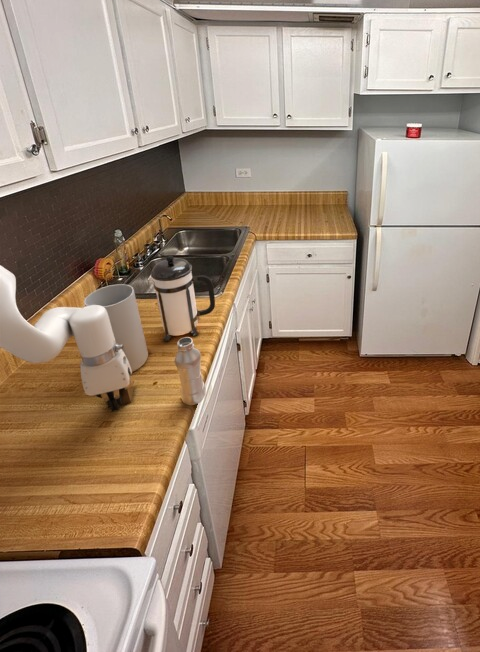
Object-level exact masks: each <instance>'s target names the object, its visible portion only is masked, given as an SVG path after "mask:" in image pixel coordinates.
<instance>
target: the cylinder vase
mask: <svg viewBox="0 0 480 652" xmlns="http://www.w3.org/2000/svg"><path fill="white" fill-rule="evenodd" d="M134 289H135V288H134V286H132V285H130V284H124V283H119V284H117V283H116V284H111V285H106V286H103V287H100V288H98V289H96V290H94V291H92V292H90V293H89V294H87V296H85V298H84V300H83V303H84V307H86V306H90V305H100V306H103V307H104V308H105V309H106V310H107V313H108V316H109V320H110V323H111V327H112V331H113V334H114V338H115V341H117V343H118V344H123V349H122V350H123V352H124V353H125V355H126V357H127V359H128V362H129V364H130V367H131V370H132V373H134V372H136V371H138V370H139V369H140V368H141V367H142V366H143V365H145V363H146V362H147V359H148V358H149V351H148V347H147V342H146V338H145V334H144V329H143V325H142V321H141V315H140V311H139V307H138V306H139V305H138V302H137V298H136V294H135V290H134Z"/></svg>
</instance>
